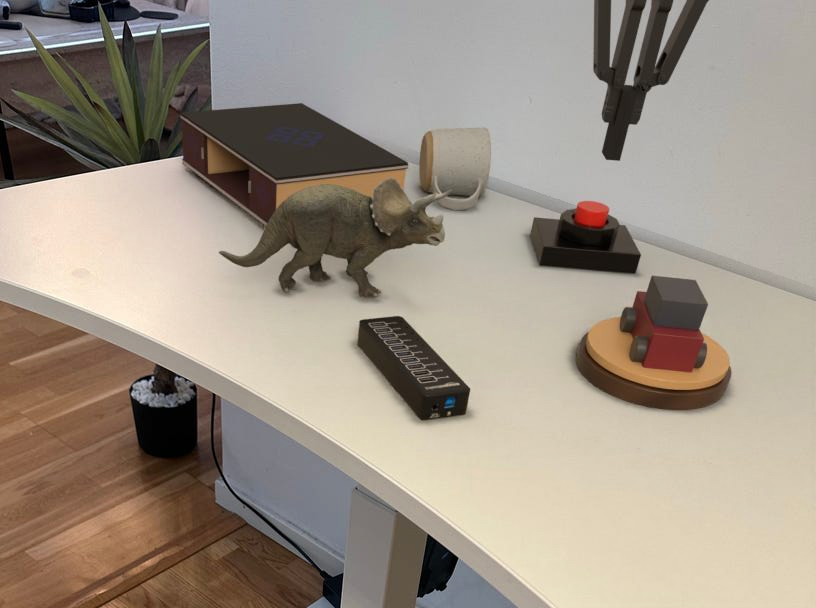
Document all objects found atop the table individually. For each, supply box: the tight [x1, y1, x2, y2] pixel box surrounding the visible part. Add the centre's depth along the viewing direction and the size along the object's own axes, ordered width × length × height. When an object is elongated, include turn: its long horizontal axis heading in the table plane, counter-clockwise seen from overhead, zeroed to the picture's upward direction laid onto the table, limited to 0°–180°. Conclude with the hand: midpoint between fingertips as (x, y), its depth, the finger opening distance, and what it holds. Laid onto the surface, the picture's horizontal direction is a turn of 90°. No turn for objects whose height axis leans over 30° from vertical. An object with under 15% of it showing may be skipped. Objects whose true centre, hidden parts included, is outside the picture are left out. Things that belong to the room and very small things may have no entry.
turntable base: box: [575, 330, 733, 411], centre depth 85 cm, size 14×14×2 cm
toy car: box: [586, 275, 731, 390], centre depth 82 cm, size 13×13×6 cm
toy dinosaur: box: [218, 177, 452, 299], centre depth 90 cm, size 22×8×11 cm, turn 90°
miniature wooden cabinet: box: [179, 102, 409, 228], centre depth 110 cm, size 17×25×7 cm
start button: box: [574, 200, 610, 226], centre depth 103 cm, size 4×4×2 cm
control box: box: [529, 208, 642, 275], centre depth 104 cm, size 11×9×4 cm
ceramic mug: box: [418, 126, 492, 211], centre depth 114 cm, size 11×8×8 cm
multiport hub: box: [357, 315, 471, 421], centre depth 81 cm, size 4×14×2 cm, turn 21°
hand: (610, 156), depth 98 cm, fingers closed
